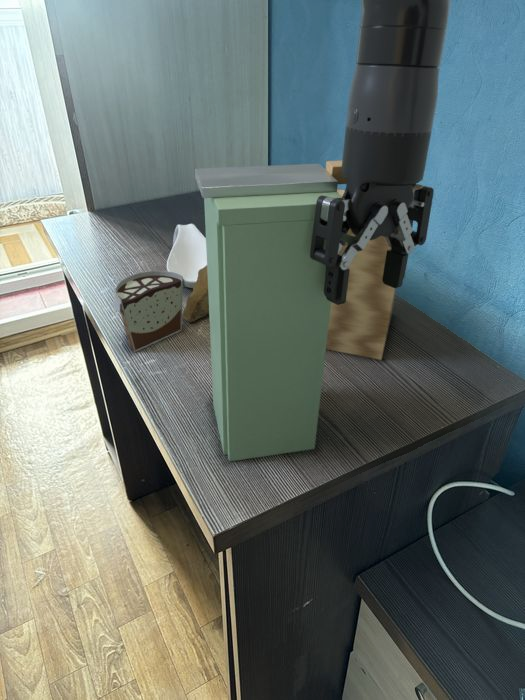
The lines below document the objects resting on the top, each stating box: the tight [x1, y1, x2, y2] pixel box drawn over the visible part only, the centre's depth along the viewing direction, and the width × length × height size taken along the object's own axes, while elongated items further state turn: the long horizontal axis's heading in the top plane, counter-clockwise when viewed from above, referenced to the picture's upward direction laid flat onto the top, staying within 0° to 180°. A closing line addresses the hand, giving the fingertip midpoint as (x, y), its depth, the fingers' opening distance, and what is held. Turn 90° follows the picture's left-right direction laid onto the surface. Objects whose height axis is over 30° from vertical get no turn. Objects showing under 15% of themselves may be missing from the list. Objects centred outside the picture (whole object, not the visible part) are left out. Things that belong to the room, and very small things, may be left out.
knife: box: [194, 160, 427, 199], centre depth 51 cm, size 23×6×2 cm, turn 102°
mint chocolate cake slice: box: [113, 270, 186, 353], centre depth 84 cm, size 12×6×10 cm, turn 134°
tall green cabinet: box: [203, 191, 346, 462], centre depth 60 cm, size 12×12×32 cm
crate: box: [326, 188, 398, 361], centre depth 83 cm, size 16×14×22 cm
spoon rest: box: [166, 223, 207, 289], centre depth 104 cm, size 24×12×7 cm, turn 17°
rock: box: [182, 265, 209, 323], centre depth 92 cm, size 11×9×10 cm
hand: (364, 293), depth 54 cm, fingers open, 8 cm apart
